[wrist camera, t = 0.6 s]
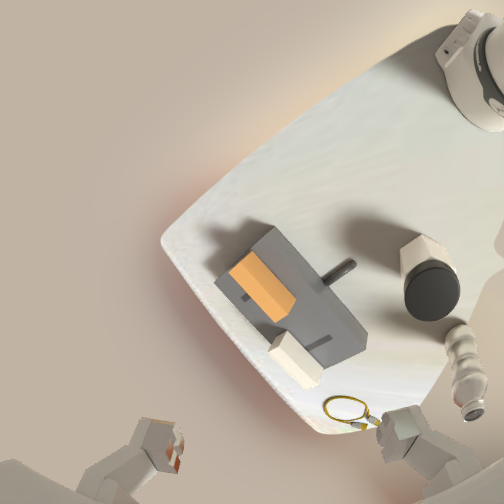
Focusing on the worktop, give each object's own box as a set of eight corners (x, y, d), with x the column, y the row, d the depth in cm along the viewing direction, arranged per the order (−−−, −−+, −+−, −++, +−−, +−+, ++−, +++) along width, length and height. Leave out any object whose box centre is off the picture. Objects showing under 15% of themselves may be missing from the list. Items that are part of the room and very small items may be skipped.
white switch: (287, 330, 49) (278, 346, 45) (323, 368, 49) (317, 385, 45) (276, 336, 51) (267, 352, 47) (312, 373, 51) (305, 389, 47)
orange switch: (252, 250, 46) (239, 262, 42) (296, 299, 46) (287, 314, 42) (241, 260, 48) (228, 272, 44) (284, 307, 48) (274, 322, 44)
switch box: (303, 200, 45) (295, 206, 41) (398, 315, 45) (398, 332, 40) (224, 273, 57) (211, 284, 53) (309, 362, 57) (302, 378, 53)
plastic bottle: (477, 334, 38) (498, 412, 22) (450, 352, 42) (460, 432, 25) (465, 313, 39) (488, 394, 22) (437, 333, 42) (447, 416, 26)
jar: (442, 282, 39) (456, 322, 29) (399, 285, 43) (403, 326, 33) (444, 232, 36) (463, 261, 26) (398, 235, 40) (404, 266, 30)
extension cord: (342, 430, 63) (341, 435, 61) (316, 398, 61) (314, 404, 60) (382, 422, 56) (381, 427, 54) (360, 388, 55) (359, 394, 53)
